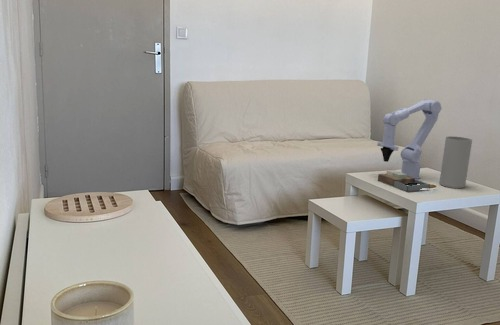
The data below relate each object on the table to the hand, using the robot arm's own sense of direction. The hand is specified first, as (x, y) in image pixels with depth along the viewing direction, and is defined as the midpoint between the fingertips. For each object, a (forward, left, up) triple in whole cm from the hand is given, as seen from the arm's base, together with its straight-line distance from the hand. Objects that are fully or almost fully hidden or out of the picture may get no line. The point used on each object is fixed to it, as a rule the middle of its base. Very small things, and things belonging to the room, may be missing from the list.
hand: (385, 161), depth 255 cm
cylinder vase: (-27, +22, -10) cm, 36 cm away
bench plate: (0, +10, -9) cm, 13 cm away
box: (0, +21, -9) cm, 23 cm away
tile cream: (0, +7, -6) cm, 9 cm away
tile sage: (0, +12, -6) cm, 13 cm away
